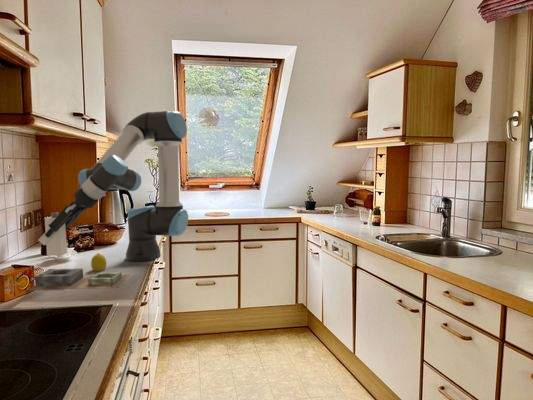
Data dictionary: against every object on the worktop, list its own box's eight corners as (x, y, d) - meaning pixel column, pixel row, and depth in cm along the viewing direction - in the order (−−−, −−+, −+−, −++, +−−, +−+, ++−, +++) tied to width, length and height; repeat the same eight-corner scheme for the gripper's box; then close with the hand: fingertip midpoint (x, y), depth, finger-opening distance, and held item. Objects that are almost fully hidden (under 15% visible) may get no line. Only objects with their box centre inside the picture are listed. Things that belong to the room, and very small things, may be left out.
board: (132, 278, 156) (132, 264, 156) (117, 292, 140) (116, 276, 140) (52, 280, 156) (51, 266, 156) (27, 293, 140) (26, 278, 140)
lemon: (99, 276, 161) (98, 255, 160) (88, 274, 163) (87, 254, 162) (109, 272, 166) (108, 252, 165) (99, 271, 168) (97, 251, 167)
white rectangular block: (67, 253, 149) (64, 212, 147) (61, 255, 145) (59, 213, 143) (52, 253, 149) (50, 212, 147) (47, 255, 145) (44, 213, 143)
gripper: (87, 202, 136) (40, 253, 138) (107, 198, 153) (64, 244, 155) (70, 186, 136) (22, 238, 137) (92, 184, 153) (49, 230, 154)
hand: (45, 241), depth 146 cm, fingers closed on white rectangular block, 4 cm apart
